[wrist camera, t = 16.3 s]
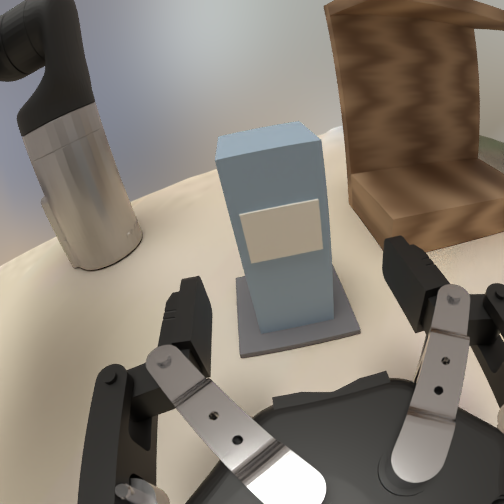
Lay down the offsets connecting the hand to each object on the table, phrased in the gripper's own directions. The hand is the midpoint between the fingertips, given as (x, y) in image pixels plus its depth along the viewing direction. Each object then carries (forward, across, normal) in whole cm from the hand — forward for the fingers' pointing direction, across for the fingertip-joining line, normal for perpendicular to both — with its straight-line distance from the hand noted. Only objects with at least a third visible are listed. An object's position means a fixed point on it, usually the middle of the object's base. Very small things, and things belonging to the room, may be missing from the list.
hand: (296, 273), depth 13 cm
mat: (+6, 0, +8) cm, 10 cm away
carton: (+6, 0, +8) cm, 10 cm away
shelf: (+14, -18, +8) cm, 24 cm away
